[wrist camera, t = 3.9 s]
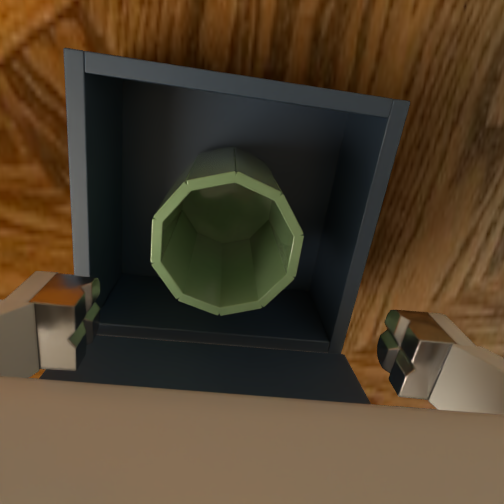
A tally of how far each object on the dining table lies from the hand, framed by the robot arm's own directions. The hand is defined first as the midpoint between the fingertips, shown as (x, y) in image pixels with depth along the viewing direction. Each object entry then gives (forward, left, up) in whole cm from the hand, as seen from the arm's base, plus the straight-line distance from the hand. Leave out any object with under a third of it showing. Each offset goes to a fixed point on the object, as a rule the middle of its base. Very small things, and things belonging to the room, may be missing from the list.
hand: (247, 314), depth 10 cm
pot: (+1, 0, -14) cm, 14 cm away
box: (+1, 0, -15) cm, 15 cm away
